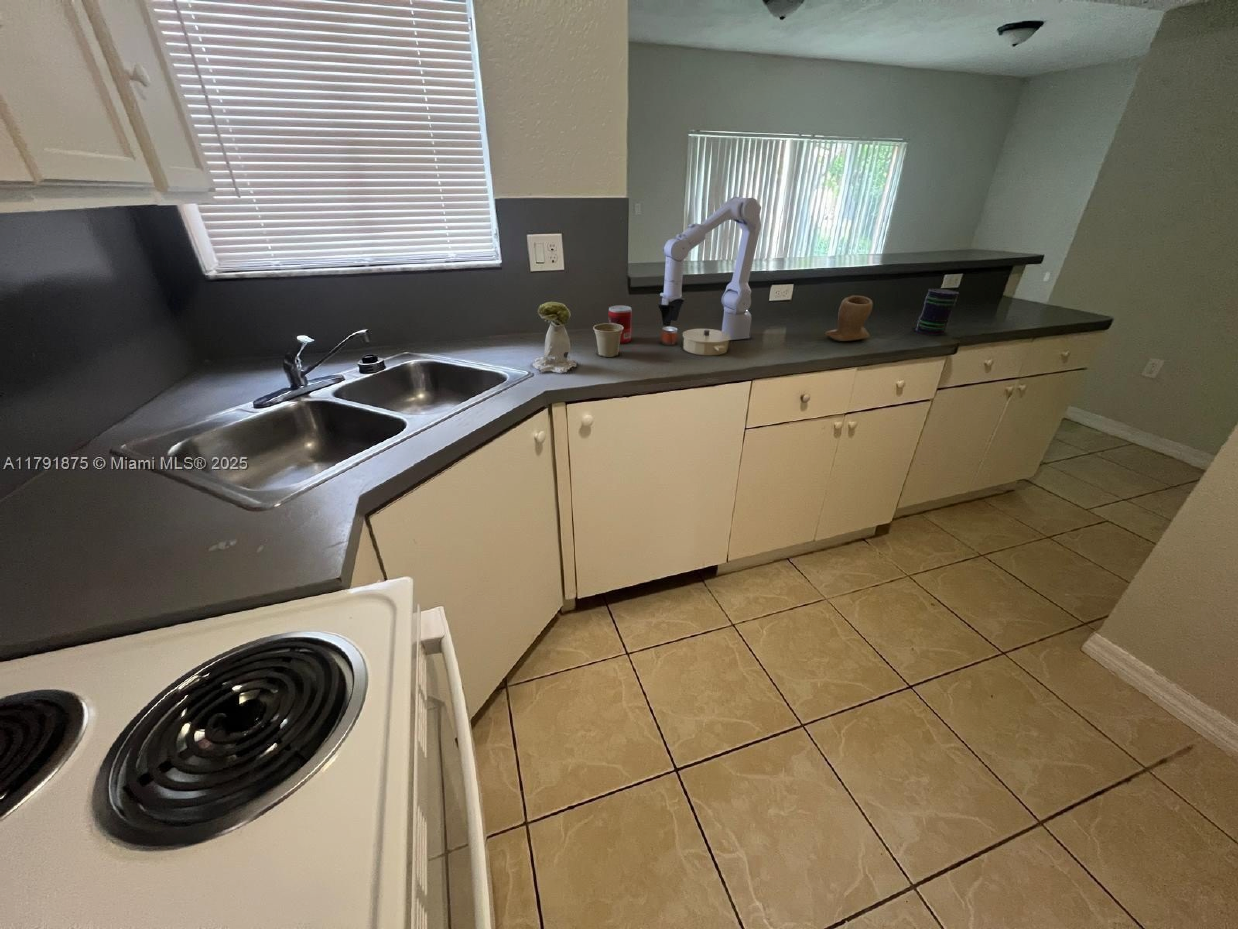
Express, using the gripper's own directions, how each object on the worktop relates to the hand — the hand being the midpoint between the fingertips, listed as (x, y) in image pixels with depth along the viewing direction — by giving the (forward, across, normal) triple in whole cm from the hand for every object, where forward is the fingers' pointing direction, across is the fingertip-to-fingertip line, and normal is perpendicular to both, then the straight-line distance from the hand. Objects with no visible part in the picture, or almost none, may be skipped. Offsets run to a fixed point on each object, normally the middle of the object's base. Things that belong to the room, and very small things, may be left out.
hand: (670, 322), depth 163 cm
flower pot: (+7, +20, -13) cm, 26 cm away
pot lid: (+3, 0, +13) cm, 13 cm away
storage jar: (+7, -61, +85) cm, 105 cm away
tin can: (+7, 0, 0) cm, 7 cm away
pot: (+7, 0, +13) cm, 15 cm away
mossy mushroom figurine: (+7, +38, -23) cm, 45 cm away
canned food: (+7, +5, -16) cm, 18 cm away
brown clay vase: (+7, -34, +57) cm, 66 cm away
